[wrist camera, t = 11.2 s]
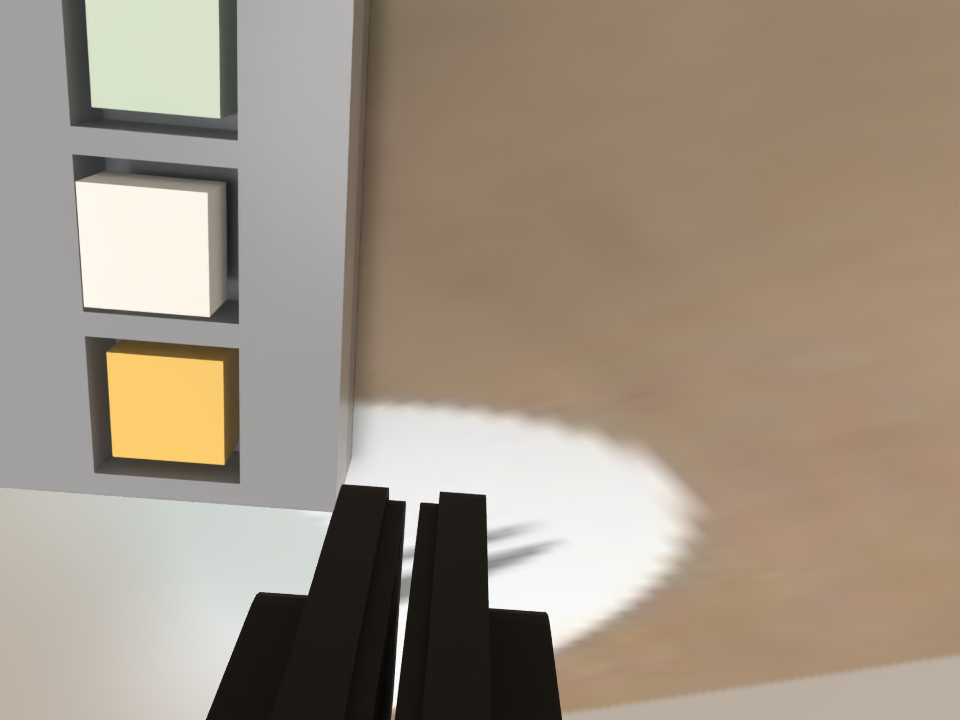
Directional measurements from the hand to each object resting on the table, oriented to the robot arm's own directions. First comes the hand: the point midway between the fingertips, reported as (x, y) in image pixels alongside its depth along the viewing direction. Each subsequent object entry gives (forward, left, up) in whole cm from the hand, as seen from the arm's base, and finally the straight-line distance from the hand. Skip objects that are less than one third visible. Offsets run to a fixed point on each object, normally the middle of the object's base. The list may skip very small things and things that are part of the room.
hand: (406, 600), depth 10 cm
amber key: (+11, +9, -27) cm, 30 cm away
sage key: (+11, -5, -27) cm, 29 cm away
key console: (+11, +2, -29) cm, 31 cm away
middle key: (+11, +2, -25) cm, 27 cm away
